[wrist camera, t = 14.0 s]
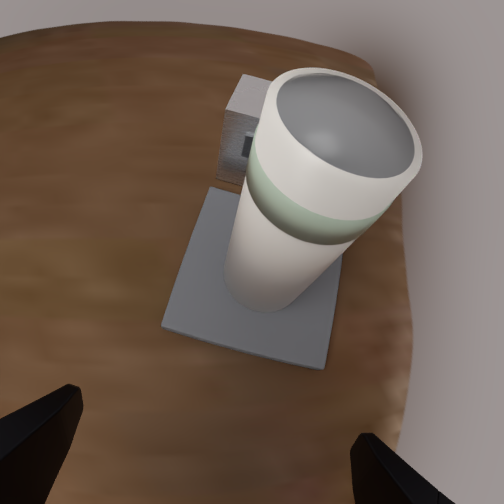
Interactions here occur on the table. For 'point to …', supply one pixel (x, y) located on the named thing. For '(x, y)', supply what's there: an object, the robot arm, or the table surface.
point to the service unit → (240, 128)
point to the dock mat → (236, 315)
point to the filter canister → (314, 182)
